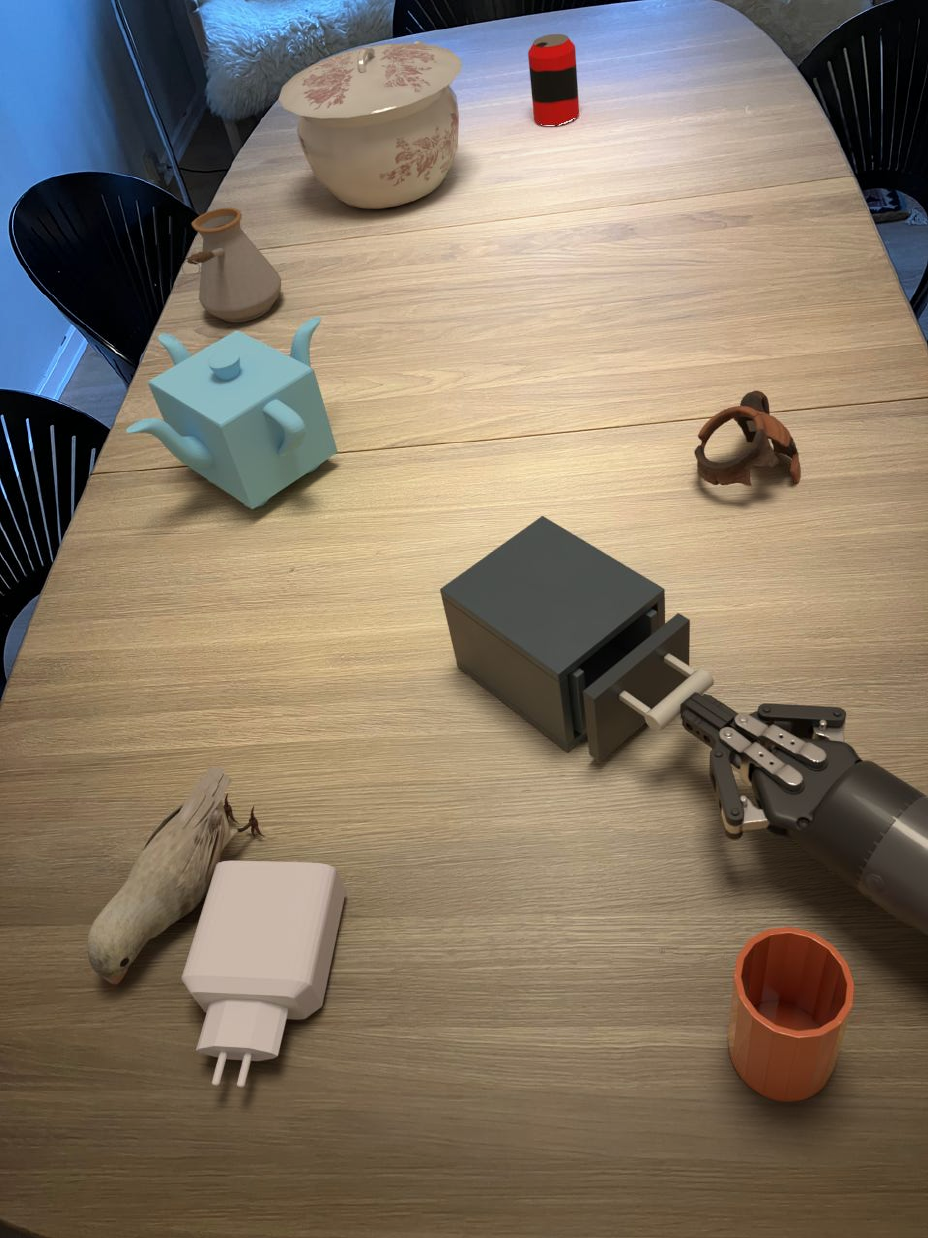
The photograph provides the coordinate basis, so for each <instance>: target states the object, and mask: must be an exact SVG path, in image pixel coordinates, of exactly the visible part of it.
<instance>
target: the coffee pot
mask: <svg viewBox="0 0 928 1238" xmlns="http://www.w3.org/2000/svg"><path fill="white" fill-rule="evenodd" d="M242 215H243V214H242V213H241V211H240V210H239V209H237V208H234V207H220V208H215V209H212V210H209V211H206V212H205V213H202V214H201V215H199V216H198V217H196V218H195V219H194V220H193V221H192V222H191V227H192V228H193V229H194V231H196V232H197V233H199V235H200V236H201V238H202V251H199V252H197V253H193V254H191V255H190V256H189V257H188V258H187V260H186V261H184V262H183V263H182V264H181V271H182V273H183V274H184V275H186V276H188V277H195V276H197V275H198V274H200V278H199V291H198V301H199V303H200V305H201V306H202V308H203V309H204V310H205V311H207V312H208V313H209V314H210V315H212V316H214V317H216V318H219V319H221V320H223V321H225V322H227V323H244V322H249V321H251V320H255V319H259V318H260V317H262V316H264V315H265V314H267V313H268V312H269V311H270V310H271V309H272V308H273V305H274V303H276V301H277V299H278V297H279V295H280V293H281V290H282V289H281V288H282V277H281V276H280V274H279V272H278V271H277V270H276V269H275V268H274V266H273V265H272V263H270V262H269V260H268V259H267V258H266V257H265V256H264V255H263V253H262V252H261V251H260V250H259V248H258V247H257V246H256V245H255V244H254V242H253V241H252V240H251V239H250V237H249V236H248V235H247V234H246V233H245V232H244V230H243V229H242V227H241V221H242V217H243V216H242ZM186 263H187V264H189V265H195V266H198V271H196V273H194V274H193V275H192V274H188V273H186V272H185V271H184V265H185V264H186Z"/></svg>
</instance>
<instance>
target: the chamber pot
mask: <svg viewBox="0 0 928 1238" xmlns="http://www.w3.org/2000/svg"><path fill="white" fill-rule="evenodd" d="M462 61H463V60H462V59H461V58H460V56H458V55H457V54H456V53H455V52H454V51H452V49H449V48H445V47H442V46H439V45H436V44H427V43H425V42H423V41H421V40H416V41H414V42H402V43H401V42H400V43H399V42H398V43H384V44H378V45H372V46H369V45H367V46H363V47H360V48H357V49H352V50H349V51H345V52H342V53H338V54H335V55H332V56H330V57H328V58H325V59H322V60H321V61H318V62H316V63H314V64H312V65H310V66H308V67H306V68H304V69H303V70H301V71H300V72H298V73H296V74H294V75H293V76H292V77H291V78H290V79H289V80H288V81H287V82H286V83H285V84H284V85H283V86H282V88H281V90H280V92H279V97H278V101H279V104H280V105H281V106H282V108H283V110H286V111H288V112H290V113H292V114H294V115H297V116H298V117H299V119H298V123H297V127H296V131H297V132H296V133H297V137H298V141H299V144H300V148H301V150H302V152H303V154H304V156H305V159H306V161H307V163H308V165H309V167H310V169H311V172H312V173H313V174H314V177H315V178H316V179H317V180H318V181H319V182H320V184H322V185H323V186H324V187H325V188H326V190H328V191H329V193H331V195H332V196H333V197H334V198H335V199H337V200H338V201H341V203H344V204H346V205H348V206H350V207H355V208H359V209H387V208H394V207H399V206H402V205H406V204H409V203H412V202H414V201H416V200H419V199H422V198H423V197H425V196H428V195H430V193H432V192H433V191H434V190H436V189H437V188H438V187H440V185H441V183H442V182H443V180H444V179H445V177H446V176H447V175H448V173H449V171H450V168H451V165H452V163H453V161H454V158H455V155H456V153H457V151H458V148H459V147H458V146H459V125H460V119H459V118H460V112H459V106H458V105H459V104H458V97H457V94H456V93H455V91H454V90H453V89H452V87H451V84H452V83H454V81H455V80H456V78H457V77H458V76H459V74H460V73H461V72H462V69H463V66H462V65H463V64H462Z"/></svg>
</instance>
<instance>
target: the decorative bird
mask: <svg viewBox="0 0 928 1238" xmlns="http://www.w3.org/2000/svg"><path fill="white" fill-rule="evenodd" d="M231 782H232V778H231V777H230V776H229V775H228V774H227V773H225V770H224V768H223V767H221V766H220V765H216V766H214V767H209V768H208V769H207V770H206V772H205V773H204V775H203V777H202V778H200V779H199V780H198V781H197V783H196V785H195V786H194V788H192V790H191V791H190V793H189V794H188V796H187V798H186V800H185V801H184V802H183V803H181V804H180V805H179V806H177V807H176V808H175V809H174V810H173V811H171V812H170V813H169V814H168V815H166V816H165V818H163V819H162V820H161V821H160V823H159V824H158V825H157V826H155V828H154V829H153V831H152V832H151V833H150V835H149V836H148V838H147V840H146V841H145V842H144V844H143V846H142V848H141V850H140V853H139V854H138V856H137V858H136V860H135V862H134V864H133V866H132V868H131V870H130V872H129V875H128V877H127V878H126V881H125V882H124V884H123V885H122V886H121V888H119V890H118V892H117V893H115V895H114V896H113V897H112V899H110V901H109V902H108V903H107V904H106V905H105V907H104V908H103V909H102V910H101V912H99V914H98V915H97V917H96V918H95V919H94V921H93V922H92V925H91V927H90V930H89V931H88V934H87V939H86V950H87V956H88V957H87V958H88V961H89V964H90V966H91V968H92V970H93V971H94V972H95V973H96V974H98V975H99V976H100V977H102V978H103V979H104V980H106V981H107V982H108V983H109V984H112V985H118V984H119V983H120V982H121V981H122V980H123V978H124V977H125V975H126V974H127V972H128V970H129V967H130V965H131V964H132V963H133V962H134V961H135V960H136V959H137V957H138V956H139V954H140V952H141V951H142V949H143V948H144V946H145V945H146V944H147V942H148V941H149V940H150V939H155V938H156V937H158V936H159V935H160V934H161V933H163V932H165V931H166V930H167V929H168V928H169V927H170V926H171V925H173V924H175V923H176V922H177V921H179V920H180V919H182V918H184V917H186V916H187V915H188V914H190V913H191V912H192V911H193V910H194V909H196V908H197V907H198V905H200V903H201V901H202V900H203V898H204V897H205V896H206V895H207V893H208V890H209V887H210V884H211V880H212V877H213V874H214V871H215V867H216V864H218V863H219V862H220V860H221V855H222V853H223V851H224V849H225V848H226V846H227V845H228V844H229V842H230V841H231V840H232V839H233V838H235V837H236V836H237V835H238V833H243V832H245V831H247V830H248V829H249V828H250V832H251V834H252V836H253V837H256V835H255V832H256V833H257V834H258V835H259V836H261V837H263V838H266V836H265V835H264V834H262V832H261V830H260V828H259V820H258V818H256V816H255V814H254V811H255V805H253V806H252V808H251V810H250V818H249V819H248V822H247V823H246V824H245V825H244V826H243V827H239V828H237V827H236V828H232V829H230V821H229V819H230V820H231V821H233V822H234V823H235V824H238V825H239V824H240V823H239V822H238V821H237V820H236V819H235V817H234V815H233V808H232V806H231V804H230V803H229V801H228V797H229V792H227V793H226V794H225V792H226V791H227V789H228V788H229V786H230V785H231ZM224 796H225V797H224ZM223 798H224V803H223Z"/></svg>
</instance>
